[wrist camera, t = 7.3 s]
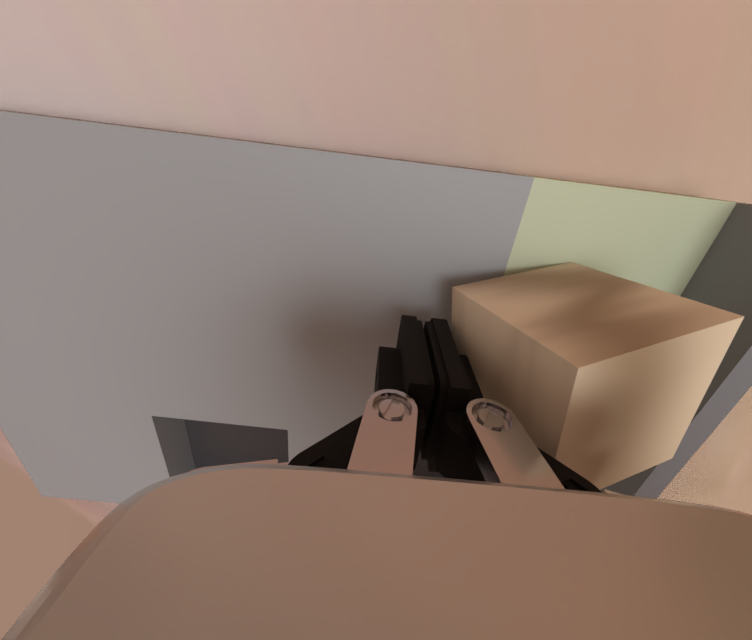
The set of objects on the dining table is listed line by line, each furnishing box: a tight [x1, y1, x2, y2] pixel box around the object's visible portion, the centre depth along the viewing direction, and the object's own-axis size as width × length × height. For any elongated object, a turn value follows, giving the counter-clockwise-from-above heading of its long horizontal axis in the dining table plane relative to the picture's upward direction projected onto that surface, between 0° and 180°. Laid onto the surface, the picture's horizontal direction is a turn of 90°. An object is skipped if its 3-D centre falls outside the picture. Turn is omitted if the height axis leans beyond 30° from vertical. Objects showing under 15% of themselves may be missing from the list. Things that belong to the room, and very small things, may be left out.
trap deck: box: [0, 110, 752, 504], centre depth 15 cm, size 32×21×6 cm, turn 84°
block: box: [451, 262, 744, 490], centre depth 10 cm, size 5×5×5 cm
